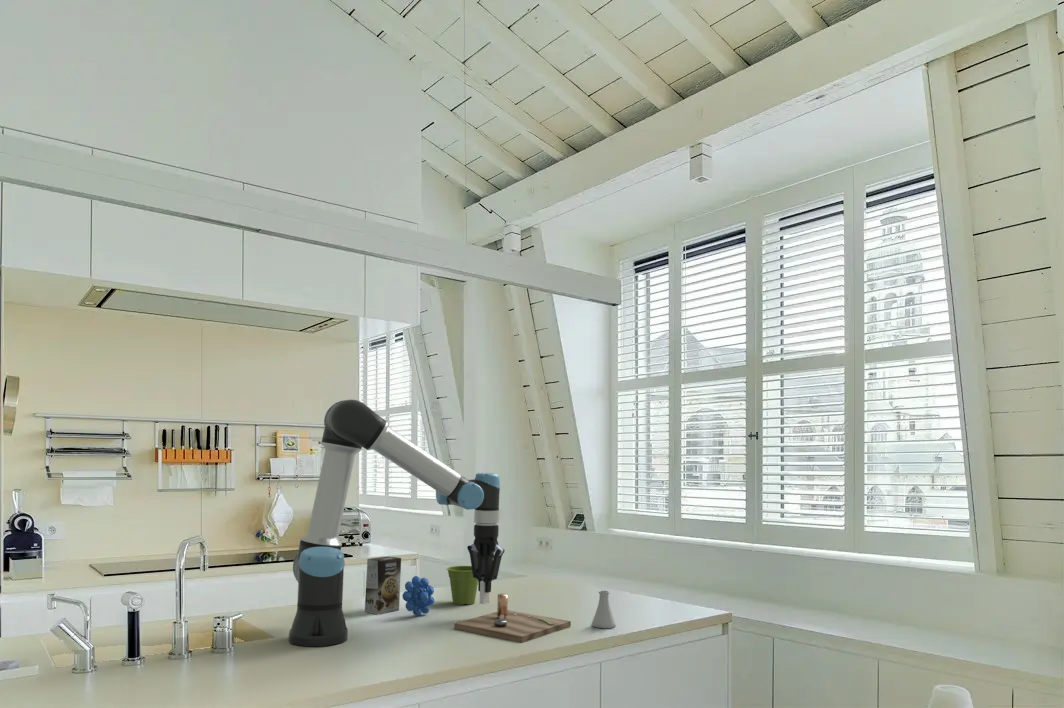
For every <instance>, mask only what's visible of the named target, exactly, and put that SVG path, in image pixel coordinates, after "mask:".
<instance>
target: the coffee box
mask: <svg viewBox="0 0 1064 708" xmlns="http://www.w3.org/2000/svg"><path fill="white" fill-rule="evenodd" d="M401 569H402V557H396V556H382V557H372V558H367V562H366V577H365V578H366V581H365V596H364V597H365V600H364V612H367V613H371V614H375V615H382V614H386V613H391V612H396V611H399V610H400V601H401V600H400V599H401V598H400V596H401V576H402V575H401V574H402V573H401V572H402V570H401Z"/></svg>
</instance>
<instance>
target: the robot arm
mask: <svg viewBox="0 0 1064 708" xmlns="http://www.w3.org/2000/svg"><path fill="white" fill-rule="evenodd" d="M323 422H324V423H323V424H324V427H323V433H322V438H321V445H322V446H323V448H324V450H325V451H324V456H323V460H322V465H321V469H320V472H319V473H320V474H319V476H318V477H319V478H318V482H317V487H316V492H315V497H314V503H313V505H312V511H311V515H310V521H309V526H308V529H307V533H306V534H305V535H303V536H302V537H300V541H299V545H298V550H297V554H296V555H295V558H294V559H293V562H292V563H293V564H292V573H293V576H294V578H295V580H296V581H297V583H298V584H297V603H296V604H297V605H296V606H297V607H296V613H295V616H294V618H293V622H292V625H291V628H290V629H289V631H288V642H289V643H290V644H292V645H296V646H303V647H325V646H333V645H334V646H335V645H337V644H341V643H343V642H346V641H347V640H348V636H349V635H348V633H349V632H348V627H347V623H346V618H345V615H344V612H343V596H344V595H343V592H344V591H343V590H344V574H345V573H344V570H345V569H344V568H345V564H346V563H345V555H344V552H343V551H342V546H343V544H342V542H341V541H340V539H339V534H340V530H341V524H342V520H343V515H344V510H345V506H346V500H347V495H348V492H349V486H350V480H351V476H352V470H353V467H354V462H355V459H356V458H355V457H356V455H357V454H358V453H360V452H361V451H362V449H363V448H364V449H365V450H367V451H375V452H377V453H378V454H379V455H381V456H382V457H384V458H386V459H387V460H388V461H390V462H392V463H393V464H395V465H396V466H397V467H399V468H401V469H402V470H404V471H406V472H407V473H409V474H410V475H412V476H413V477H415V478H416V479H418V481H421V482H423V483H424V484H425V485H427V486H429V487H430V488H432V489H433V490H435V500H436V502H437V504H438V505H441V506H442V505H443V506H444V505H446V506H449V505H450V506H456V507H459V508H463V510H467V511H469V510H474V514H473V515H474V516H473V517H474V518H473V522H474V523H475V524H474V525H473V537H474V540H473V543H471V545H467V551H468V553H469V558H470V564H471V565H470V566H472V572H473V577H474V578H476V579H478V586H477V591H478V592H479V604H481V605H486V604H489V603H490V593H491V592H492V581H494V580H498V575H499V571H500V566H501V561H502V556H503V555H504V553H505V549H504V548H501V546H499V542H498V539H499V531H500V530H499V525H498V524H499V520H500V519H499V517H500V515H499V514H500V512H499V511H500V493H501V492H500V490H501V486H500V475H499V474H498V473H495V472H477V473H476V474H475V477H474V479H468V478H466V477H465V476H462V475H461V474H460V473H459V472H457V471H456V470H454V469H453V468H451V467H450V466H448V465H447V464H445V463H443V462H442V461H441V460H439V459H438V458H436V457H434V456H433V455H431V454H430V453H429V452H427V451H426V450H424V449H423V448H421V447H420V446H418V445H417V444H416V443H414V442H412V441H411V440H410V439H408V438H406V437H404V436H403V435H401V434H400V433H399V432H397V431H396V430H394V429H393V428H391V427H389V422H388V421H387V420H386V419H384V418H383V417H381V416H380V415H379V414H377V412H375V411H373V409H371V408H370V407H369V406H368V405H366V403H364V402H362V401H360V400H357V399H345V400H340V401H337V402H335V403H333V404H332V405H331V406H330V407H329V408H328V409H327V411H326V413H325V415H324V420H323Z"/></svg>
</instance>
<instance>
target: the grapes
mask: <svg viewBox="0 0 1064 708" xmlns="http://www.w3.org/2000/svg"><path fill="white" fill-rule="evenodd" d="M429 584H430V583H429V579H427V578H426V577H421V578H420V577H419V576H418V575H414V576H413V577H412V578H411V580H410V581H409V580H408V581H406V582H405V584H404V588H405V591H403V593H402V599H403V601H405V602H406V603H405V608H406V611H408V612H412V613H413V615H414V616H416V617H420V616H421V614H425V615H426V614H428V613H429V612H430V607H431V606H434V603H435V598H434V597H433V596H432V595H434V592H435V590H434V587H433V586H432V585H431V584H430V585H429Z"/></svg>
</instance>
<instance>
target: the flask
mask: <svg viewBox="0 0 1064 708" xmlns="http://www.w3.org/2000/svg"><path fill="white" fill-rule="evenodd" d="M598 594H599V599H598V605H597V608H596V611H595V613H594V616H593V619H592V621H591V626H592V627H594V628H599V629H613V628H615V627H616V622H615V618H614V616H613V613H612V609H611V606H610V599H609V595H610V591H609V590H598Z"/></svg>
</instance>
